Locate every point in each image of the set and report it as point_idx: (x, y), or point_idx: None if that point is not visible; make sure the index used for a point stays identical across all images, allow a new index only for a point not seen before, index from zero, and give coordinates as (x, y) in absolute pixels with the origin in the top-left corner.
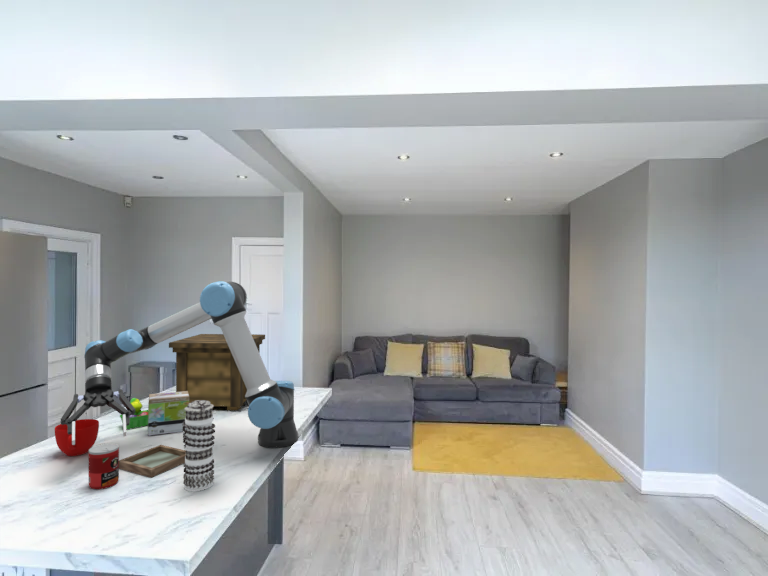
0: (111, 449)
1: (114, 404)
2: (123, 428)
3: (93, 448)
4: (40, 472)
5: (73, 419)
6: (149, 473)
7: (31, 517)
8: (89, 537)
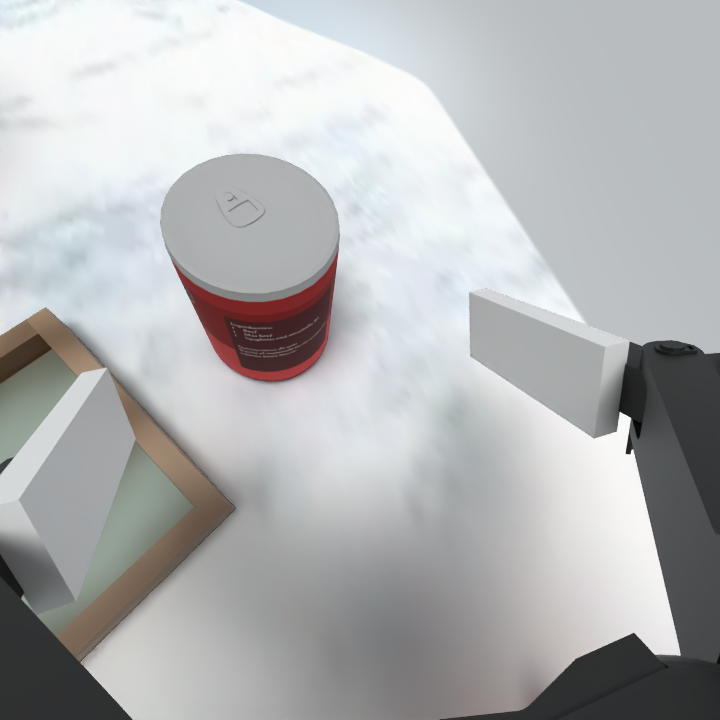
0: (204, 201)
1: (83, 717)
2: (100, 410)
3: (318, 239)
4: (617, 575)
5: (646, 367)
6: (64, 325)
7: (430, 171)
8: (244, 39)
